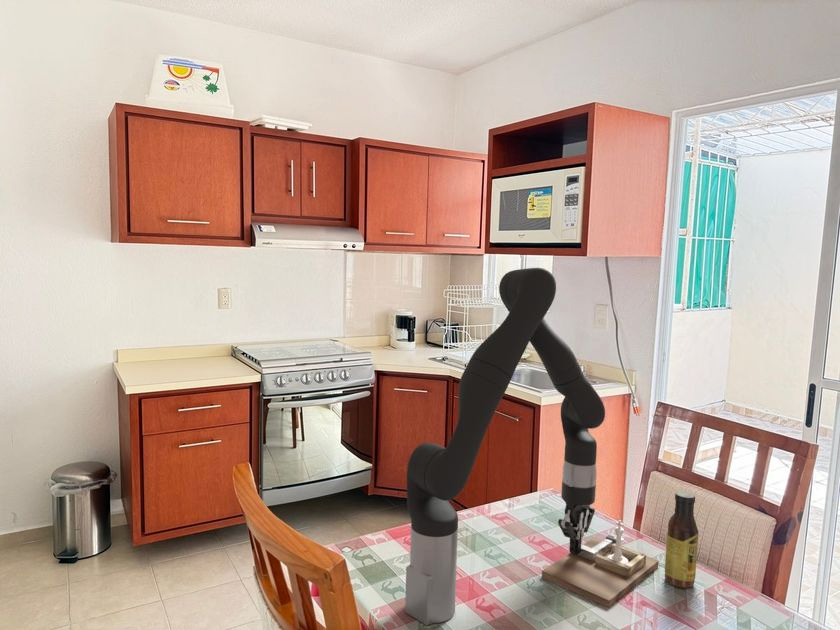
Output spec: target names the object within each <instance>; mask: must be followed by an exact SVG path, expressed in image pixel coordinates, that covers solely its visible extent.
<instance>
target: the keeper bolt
mask: <svg viewBox="0 0 840 630" xmlns="http://www.w3.org/2000/svg"><path fill="white" fill-rule="evenodd" d="M603 540H604V541H602V542H601V543H599V544H598V545H596V546H595V547H593V548H590V547H588V546H585V545H584V544H582V543H581V553H579V554H578V556H580V557H583V558H585V559H588V560H590V561H593V562H594V561H595V558H596V555H598V554H599V555H602V556H603V555H604V554H606V553H607V552H609V551H610V550H612V543H613V541H611V540H608V539H606V538H605V539H603Z"/></svg>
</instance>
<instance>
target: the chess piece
mask: <svg viewBox="0 0 840 630" xmlns="http://www.w3.org/2000/svg"><path fill="white" fill-rule="evenodd" d="M615 525H616V527H614V531H615V535H616V536H614V540H616V547H615V552H614V554H612V555H609V556H607V558H610V559H612V560H615V561H617V562H620V563H622V564H625V565H626V564H627V563H629V561H628V559H627V558H625V557H623V555H622V552H621V546H622V542H624V541H625V540H624V537H623V535H624V531H625V529H624V528H623V527H624V523H622V520H621V519H619V520H618V521H616V522H615Z"/></svg>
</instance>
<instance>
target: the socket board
mask: <svg viewBox="0 0 840 630" xmlns="http://www.w3.org/2000/svg"><path fill="white" fill-rule="evenodd" d="M614 537H615V536H613V535H611V534H608V535H607V536H605V539H608V540H611V541H613V543H612V550H610V551H609V552H607V553H606V554H604V555H603V556H602V555H599V554H598V555H596V558H595V561H594V562H593V561H590V560H588V559H585V558H583V557H580V556H578V555H575V554H572V553H570V552H569V553H567V554H566V555H564V556H562V557H561V558H560V559H558V560H557V561H555V562H553V563H551V564H550V565H548V566H547V567H545V568H544V569H542V570H541V578H542V579H545V580H547V581H549V582H551V583H554V584H556V585H558V586H560V587H562V588H564V589H567V590H569V591H571V592H574V593H576V594H578V595H580V596H582V597H585V598H586V599H589V600H591V601H593V602H596V603H598V604H600V605H602V606H604V607H607V608H611V606H612V605H614V604H615V603H617V602H618V601H619V600H620V599H621V598H622V597H624V596H625V595H626V594H627V593H628V592H629V591H631V590H632V589H633V588H635V587H636V586H637V585H638V584H640V583H641V582H642V581H643V580H645V578H647V577H648V576H649V575H650V574H651V573H653V572H654V571H655V570H656V569H658V567H659V560H657V559H655V558H652V557H649V556H648V555H647V554H644V553H642V552H639V551H636V550H634V549H631V548H628V547H626V546H622V545H621V552H622V555H623V557H625V558H627V559H628V561H629V563H627V564H626V565H625V564H622V563H620V562H617V561H615V560H612V559H610V558H607V556H609V555H612V554H614V552H615V547H616V540H614ZM605 539H601V538H599V537H596V536H594V537H593V538H592V539H590V540H588V541H587V542H585V543H584V544H583V545H585V546H588V547H590V548H593V547H595V546H596V545H598V544H599V543H601V542H602V541H604V540H605Z"/></svg>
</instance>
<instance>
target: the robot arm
mask: <svg viewBox="0 0 840 630" xmlns="http://www.w3.org/2000/svg"><path fill="white" fill-rule="evenodd" d="M498 292H499V293H498V294H499V297H500V299H501V302H502V303H503V305H504V306H505V308H506V310H507V311H508V313H507V315H506V318H505V319H503V321H502V323H501V324H500V325H499V326H498V327H497V328H496V329H495V330H494V331H493V332H492V333H491V334H490V335H489V336H487V337H486V339H485V340H483V342H482V343H481V344H480V345H479V346H477V348H476V349H475V351H474V352H473V354H472V355H471V356H470V359H469V361H468V363H467V365H466V366H465V368H464V371H463V373H462V375H461V377H460V380H459V383H458V391H457V392H458V393H457V397H458V398H457V401H458V404H457V405H458V406H457V407H458V412H457V413H458V414H457V415H458V416H457V423H456V426H455V429H454V430H453V433H452V436H451V438H450V440H449V441H448V443H447V446H446V447H444V446H442V445H439V444H436V443H434V442H424V443H421V444H419V445H418V446H416V447H415V449H414V450H413V451H412V453H411V454H410V456H409V458H408V462H407V468H406V505H407V511H408V514H409V517H410V549H409V551H410V553H409V554H410V555H409V564H408V565H407V566H406V568H405V599H404V601H405V605H404V607H405V608H404V609H405V610H404V611H405V613H406V614H407V615H408V616H411V617H412V618H413V619H415V620H417V621H419V622H421V623H422V624H424V625H425V626H429V625H431V624H438V623H444V622H446V621H448V620H450V619H451V618H453V616H454V615H455V613H456V593H457V592H456V591H457V589H456V588H457V559H458V558H457V557H458V534H459V533H458V532H459V531H458V529H459V515H458V513H457V511H456V509H455V508H454V507H453V506H452V504H451V503H450V501H451V500H453V499H455V498H457V497H458V496H459V495H460V493H462V491H463V489H464V488H465V486H466V484H467V483H468V481H469V478H470V476H471V473H472V471H473V468H474V465H475V463H476V460H477V457H478V455H479V451H480V449H481V445H482V443H483V440H484V438H485V437H486V436H485V435H486V433H487V431H488V428H489V427H490V424H491V421H492V420H493V417H494V415H495V413H496V411H497V408H498V407H499V404H500V403H501V401H502V399H503V397H504V396H505V393H506V391H507V389H508V387H509V384H510V383H511V381H512V378H513V376H514V373H515V371H516V368H517V367H518V366H519V363H520V361H521V359H522V357H523V355H524V353H525V351H526V350H527V347H528V345H529V343H530V344H531V345H532V347H533V349H534V350H535V351H536V353H537V355H538V357H539V359H540V360H541V363H542V365H543V366H544V368H545V371H546V373H547V375H548V376H549V379H550V381H551V383H552V384H553V386H554V388H555V390H556V391H557V392H558V393H559V394H561V395H563V397H564V398H563V400H562V402H561V405H560V420H561V426H562V433H563V438H564V440H565V443H564V459H563V460H564V461H563V466H562V474H561V476H562V477H561V491H560V492H561V493H560V497H561V499H562V500H563V501H564V502H565V509H564V517H563V518H559V519H558V520H557V523H558V525H559V527H560V530H561V532H562V534H563V536H564V537H566V538H569V547H568V548H569V549H568V551H569V553H572V554H575V555H578V554H579V553H581V544H582V542H583V541H582V539H583V538H584V536H585V534H587V533H588V530H589V529H590V528H589V527H590V525H591V524H592V520H593V517H594V515H595V512H596V510H595V509H596V508H593V507H591V505H593V504H594V503H595V501H596V489H597V488H596V487H597V451H598V447H597V445H598V444H597V440H596V439H595V438H594V437H593V436H592V435H591V433H590V432H589V430H591V429H592V430H593V429H597V428H598V427H600V426H601V425H602V424H603V423H604V421H605V418H606V408H605V404H604V402H603V400H602V398H601V397H600V395H599V394H598V393H597V391H596V390H595V388H594V387H593V386H592V384H591V383H590V381H588V379H587V378H586V376H585V375H584V372H583V370H582V368H581V365H580V364H579V362H578V359H577V358H576V355H575V354H574V352H573V350H572V349H571V348H570V346H569V344H567V342H566V341H565V340H564V339H563V338H562V337H561V336H560V335H559V334H558V333H557V332H556V331H555V329H553V328H552V326H551V325H549V323H548V322H547V320H546V319H545V316H546V314H547V312H548V311H549V310H550V308H551V306H552V304H553V302H554V299H555V297H556V292H557V282H556V277H555V276H554V275H553V273H552V272H551V271H550V270H549V269H546V268H543V267H529V268H527V267H526V268H522V269H521V268H520V269H519V268H518V269H514V270H510V271H507V272H506V273H505V274H504V275H502V278H501V279H500V282H499V285H498Z"/></svg>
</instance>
